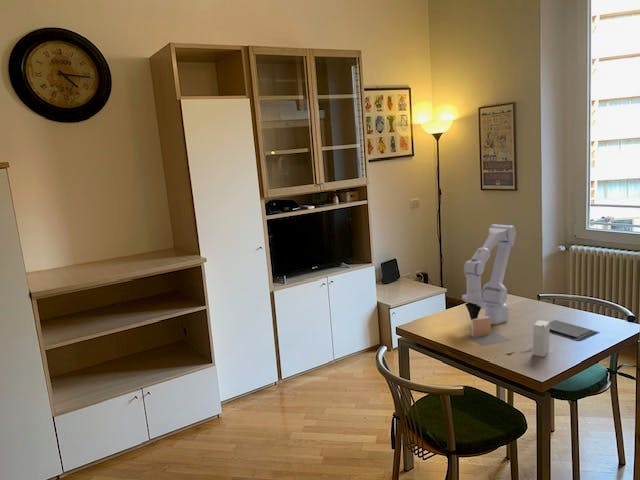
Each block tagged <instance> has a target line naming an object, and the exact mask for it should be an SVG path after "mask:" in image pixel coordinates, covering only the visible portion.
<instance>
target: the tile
mask: <svg viewBox="0 0 640 480" xmlns="http://www.w3.org/2000/svg"><path fill="white" fill-rule="evenodd" d="M470 321H471V323H470V324H471V334H472V336H473V337H477V336H482V335H487V334H491V330H492V324H491V317H489V316H487V317H485V316H483V317H478V318H476V319H471V318H470Z"/></svg>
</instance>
